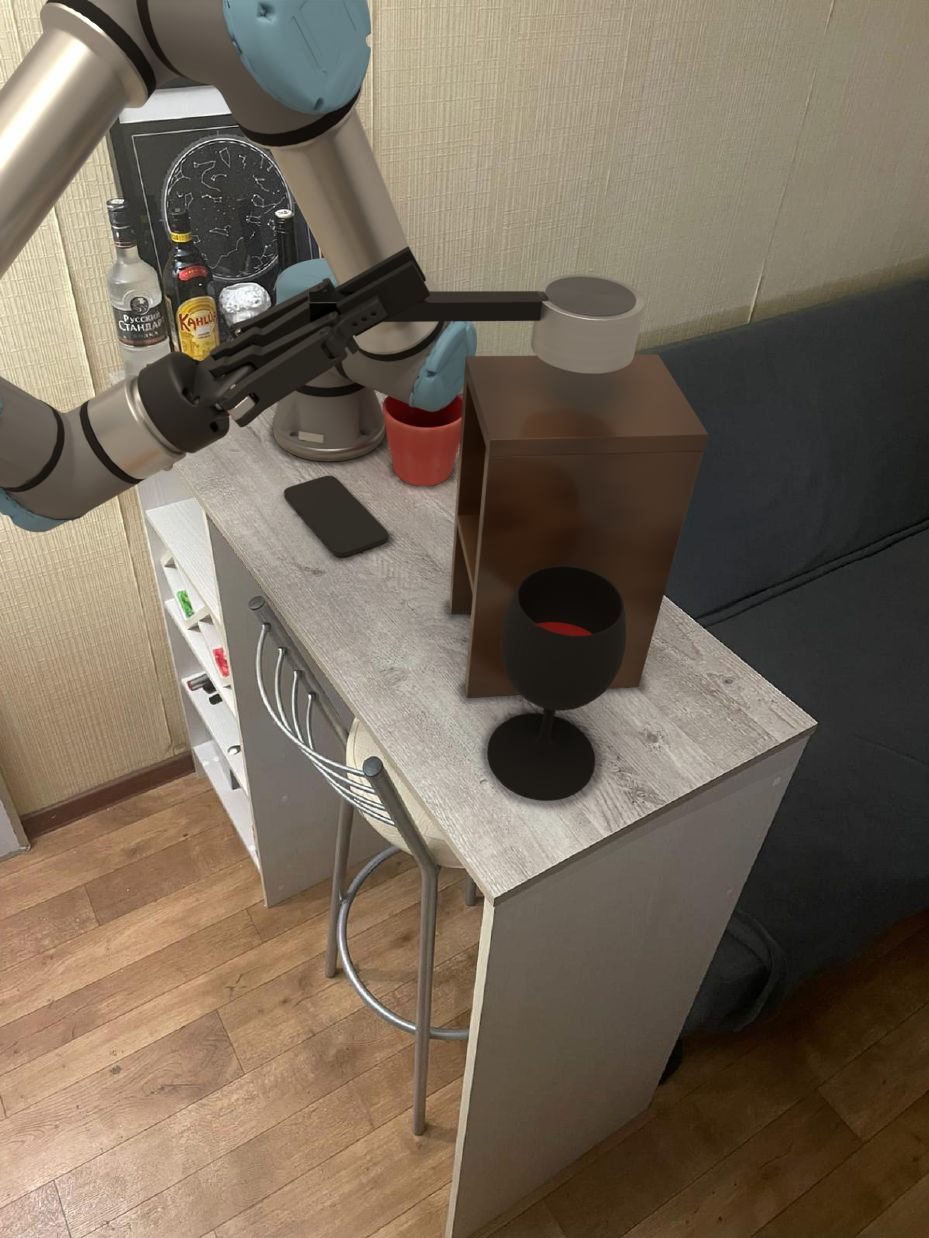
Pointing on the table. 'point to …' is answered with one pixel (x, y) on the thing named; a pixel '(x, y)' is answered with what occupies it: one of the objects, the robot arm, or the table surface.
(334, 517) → the phone
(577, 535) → the shelf
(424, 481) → the flower pot
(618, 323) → the pan
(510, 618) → the wine glass
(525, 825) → the table surface
